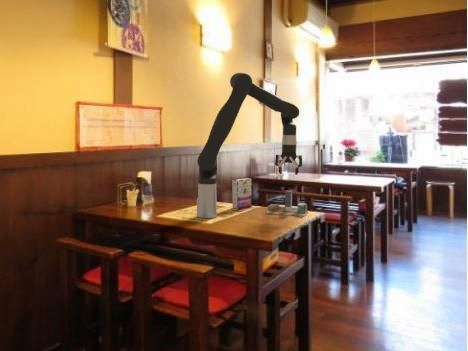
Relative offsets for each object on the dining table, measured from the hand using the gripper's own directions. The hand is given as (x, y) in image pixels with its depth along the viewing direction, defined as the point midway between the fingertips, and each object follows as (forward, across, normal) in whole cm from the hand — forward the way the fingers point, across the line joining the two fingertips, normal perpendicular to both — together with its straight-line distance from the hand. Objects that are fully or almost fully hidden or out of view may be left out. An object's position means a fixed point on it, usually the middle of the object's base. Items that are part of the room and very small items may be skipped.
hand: (288, 174), depth 213 cm
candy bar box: (+21, -28, +5) cm, 36 cm away
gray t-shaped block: (+20, +2, 0) cm, 20 cm away
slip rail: (+21, 0, 0) cm, 21 cm away
